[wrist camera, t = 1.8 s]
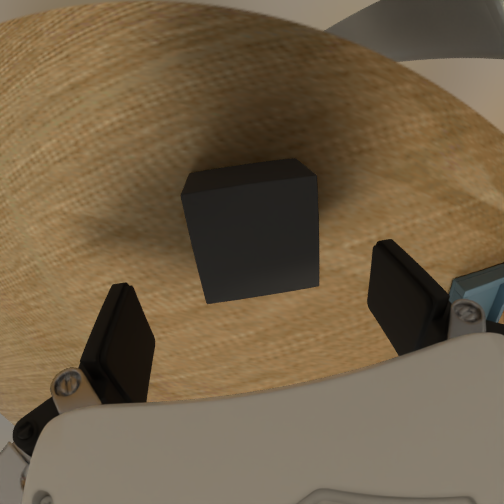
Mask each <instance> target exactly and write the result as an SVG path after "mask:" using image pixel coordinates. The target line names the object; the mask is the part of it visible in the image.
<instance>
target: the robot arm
mask: <svg viewBox="0 0 504 504" xmlns="http://www.w3.org/2000/svg"><path fill="white" fill-rule="evenodd" d="M449 298H450V295H449V294H448V293H447V292H446V291H445V290H444V289H443V288H442V287H441V286H440V285H439V284H438V283H437V282H436V281H435V280H434V279H433V278H432V277H431V276H430V275H429V274H428V273H427V272H426V271H425V270H424V269H423V268H422V267H421V266H420V265H419V264H418V263H417V262H416V261H415V260H414V259H413V258H411V257H410V256H409V255H408V254H407V253H406V252H405V251H404V250H403V249H402V248H401V247H400V246H399V245H398V244H396V243H395V242H394V241H393V240H392V239H388V240H382V241H378V242H377V244H376V245H375V246H374V247H373V252H372V263H371V273H370V282H369V290H368V298H367V304H368V307H369V309H370V311H371V312H372V314H373V315H374V317H375V318H376V320H377V321H378V323H379V325H380V326H381V328H382V329H383V331H384V332H385V334H386V336H387V337H388V339H389V340H390V342H391V344H392V345H393V347H394V348H395V350H396V352H397V353H398V355H399V356H398V357H395V358H392V359H389V360H386V361H383V362H380V363H376V364H373V365H369V366H366V367H363V368H359V369H355V370H352V371H348V372H344V373H340V374H336V375H332V376H328V377H324V378H320V379H316V380H311V381H307V382H302V383H297V384H293V385H288V386H282V387H277V388H272V389H266V390H260V391H254V392H247V393H240V394H233V395H226V396H218V397H209V398H200V399H189V400H177V401H162V402H146V400H147V393H148V386H149V380H150V373H151V367H152V361H153V355H154V349H155V338H154V335H153V333H152V331H151V328H150V326H149V324H148V322H147V319H146V317H145V315H144V312H143V310H142V307H141V305H140V302H139V300H138V298H137V295H136V292H135V290H134V288H133V286H129V285H128V283H119V284H113V285H112V286H111V288H110V290H109V293H108V295H107V297H106V299H105V301H104V304H103V306H102V308H101V310H100V313H99V315H98V317H97V320H96V322H95V324H94V327H93V329H92V332H91V334H90V336H89V339H88V341H87V344H86V346H85V349H84V352H83V354H82V357H81V359H80V365H79V368H74V367H71V368H66V369H64V370H62V371H61V372H59V373H58V374H57V375H56V376H55V377H54V379H53V381H52V383H51V387H50V391H51V395H52V397H51V398H49V399H48V400H46V401H45V402H44V403H42V404H41V405H40V406H38V407H37V408H35V409H34V410H33V411H31V412H30V413H28V414H27V415H26V416H24V417H23V418H21V419H20V420H19V421H18V422H17V424H16V425H15V427H14V430H13V441H14V442H13V443H11V442H8V444H7V445H6V446H5V447H4V448H3V450H2V451H1V452H0V504H504V324H500V323H496V322H493V321H489V320H486V316H485V312H484V310H483V308H482V307H481V306H480V305H479V304H478V303H476V302H474V301H472V300H469V299H458V300H456V301H454V302H453V303H451V302H450V301H449Z"/></svg>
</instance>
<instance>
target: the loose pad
mask: <svg viewBox="0 0 504 504" xmlns="http://www.w3.org/2000/svg"><path fill="white" fill-rule="evenodd" d="M181 200H182V205H183V209H184V214H185V218H186V222H187V227H188V231H189V235H190V240H191V244H192V248H193V252H194V256H195V260H196V264H197V268H198V272H199V276H200V280H201V284H202V288H203V292H204V295H205V299H206V303H207V304H211V303H218V302H225V301H232V300H239V299H245V298H252V297H258V296H264V295H271V294H277V293H283V292H289V291H294V290H300V289H306V288H311V287H317V286H319V214H318V187H317V175H316V174H315V173H313V172H312V171H311V170H310V169H308V168H307V167H306V166H305V165H303V164H302V163H301V162H300V161H298V160H297V159H296V158H292V159H283V160H274V161H266V162H258V163H251V164H244V165H237V166H230V167H224V168H218V169H211V170H206V171H200V172H194V173H190V174H189V176H188V178H187V181H186V183H185V186H184V188H183V191H182V193H181Z"/></svg>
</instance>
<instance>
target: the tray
mask: <svg viewBox="0 0 504 504" xmlns="http://www.w3.org/2000/svg"><path fill="white" fill-rule="evenodd" d="M449 295H450V298H449V301H450V302H451V303H453V302H454V301H456V300H458V299H469V300H472V301H474V302H476V303H478V304H479V305H480V306H481V307H482V308H483V310H484V312H485V316H486V320H489V321H493V322H496V323H498V322H499V319H500V317H501V315H502V313H503V310H504V263H503V264H500V265H497V266H494V267H491V268H488V269H485V270H482V271H479V272H476V273H472V274H469V275H466V276H463V277H459V278H456V279H453V283H452V286H451V290H450V293H449Z"/></svg>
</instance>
